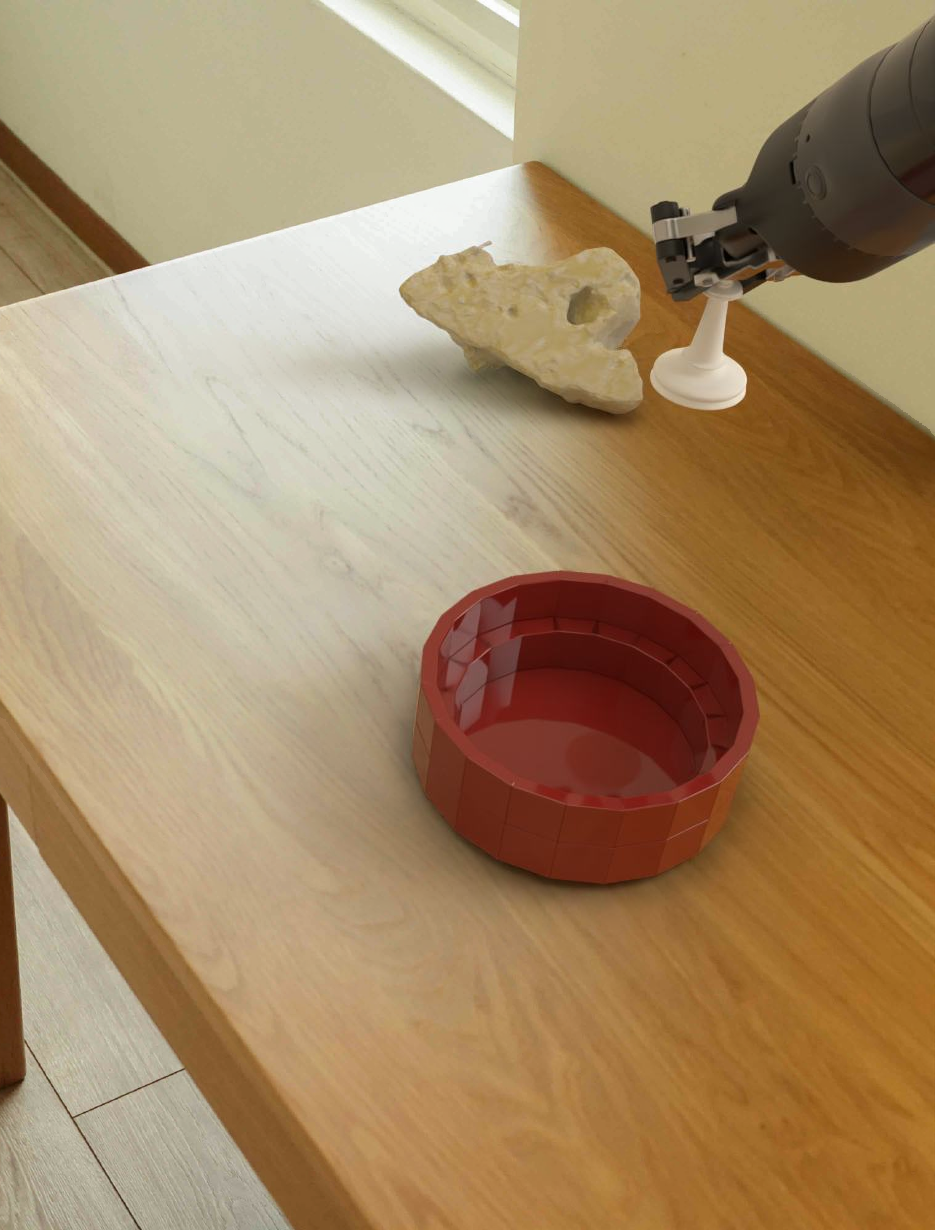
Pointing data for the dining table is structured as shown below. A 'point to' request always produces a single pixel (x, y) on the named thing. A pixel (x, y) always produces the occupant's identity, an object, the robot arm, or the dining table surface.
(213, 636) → the dining table surface
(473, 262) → the beige rock
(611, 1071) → the dining table surface
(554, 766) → the bowl
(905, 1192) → the dining table surface
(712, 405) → the chess piece
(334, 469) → the dining table surface
